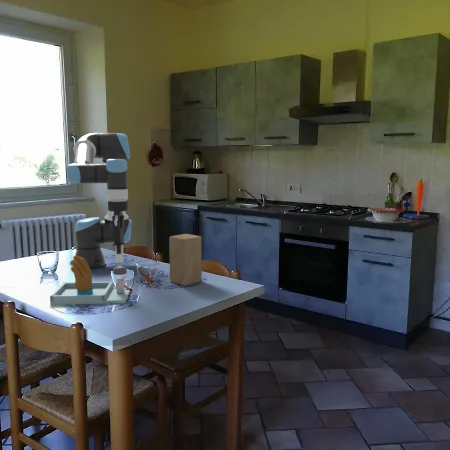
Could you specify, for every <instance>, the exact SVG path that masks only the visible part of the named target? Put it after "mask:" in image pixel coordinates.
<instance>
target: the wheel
mask: <svg viewBox="0 0 450 450" xmlns="http://www.w3.org/2000/svg"><path fill="white" fill-rule="evenodd" d="M112 271H113V275H117V276H119V275H126V274H127V267H126V266H121V265H119V266H114V267H113V269H112Z"/></svg>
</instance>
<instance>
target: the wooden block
mask: <svg viewBox="0 0 450 450" xmlns="http://www.w3.org/2000/svg"><path fill="white" fill-rule="evenodd" d="M168 241H169V252H168V253H169V282H171V283H175V284H178V285H181V286H188V285H189V286H190V285H194V284H196V283H200V282H202V279H203V277H202V271H203V270H202V269H203V268H202V236H200V235H194V234H191V233H190V234H189V233H182V234H177V235H176V234H175V235H171V236H169V239H168Z"/></svg>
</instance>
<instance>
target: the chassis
mask: <svg viewBox="0 0 450 450" xmlns="http://www.w3.org/2000/svg"><path fill="white" fill-rule="evenodd" d="M115 280H116V281H115V282H116V284H115V285H116V286H114V285H113V284H114V283H113V281H92V287H93V293H92V294H91V295H77V289H76V286H75V281H74V282H73V281H72V282H71V281H69V282H62V283H61V284H60V286H58V287H57V288H56V289H55V291H54V292H53V293H52V294H50V296H49V301H50V302H49V305H50V306H52V305H57V306H59V305H100V304H101V305H102V304H103V305H109V304H110V305H112V304H116V305H118V304H126V303H127V301H128V298H129V296H130V294H129V293H131V291H130V290H125V289H124V286H125V277H116V279H115ZM115 287H117V289H115ZM128 295H129V296H128ZM126 300H127V301H126Z"/></svg>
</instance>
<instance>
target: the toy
mask: <svg viewBox="0 0 450 450" xmlns="http://www.w3.org/2000/svg"><path fill="white" fill-rule="evenodd" d="M70 265H72V266H71V267H70V271H71V272H72V274H73V275H74V279H75V281H74V282H75V286H76V289H77V295H91V294H92V293H93V287H92V282H93V279H92V278H93V277H92V274H93V273H92V271H91V268H89V265H88V263H87V262H86V260H85V259H84V258H82V257H79V256H77V255H74V256H73V259H72V260H70Z"/></svg>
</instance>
